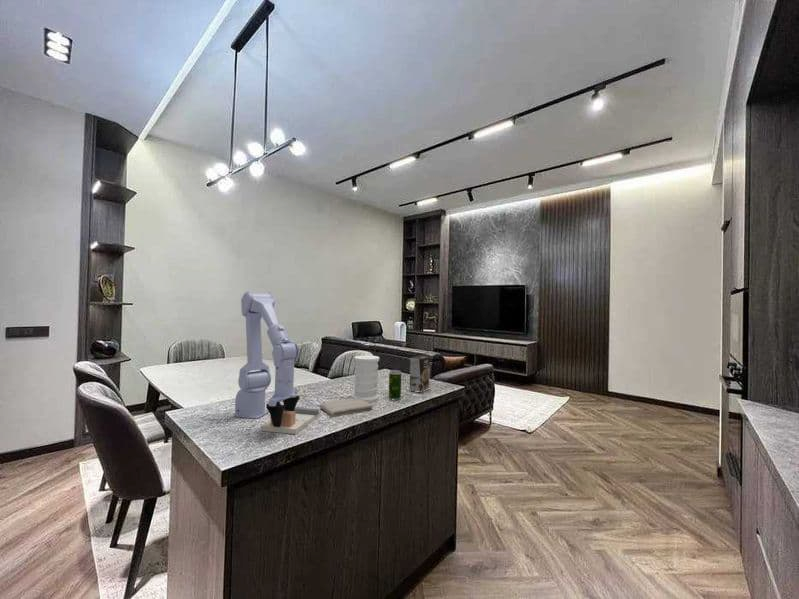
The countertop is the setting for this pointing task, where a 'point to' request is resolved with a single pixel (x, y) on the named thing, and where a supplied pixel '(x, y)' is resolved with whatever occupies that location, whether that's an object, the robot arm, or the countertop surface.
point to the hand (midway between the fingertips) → (282, 422)
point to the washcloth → (345, 406)
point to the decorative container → (366, 378)
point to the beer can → (395, 384)
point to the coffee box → (419, 373)
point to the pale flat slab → (285, 424)
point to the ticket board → (306, 414)
